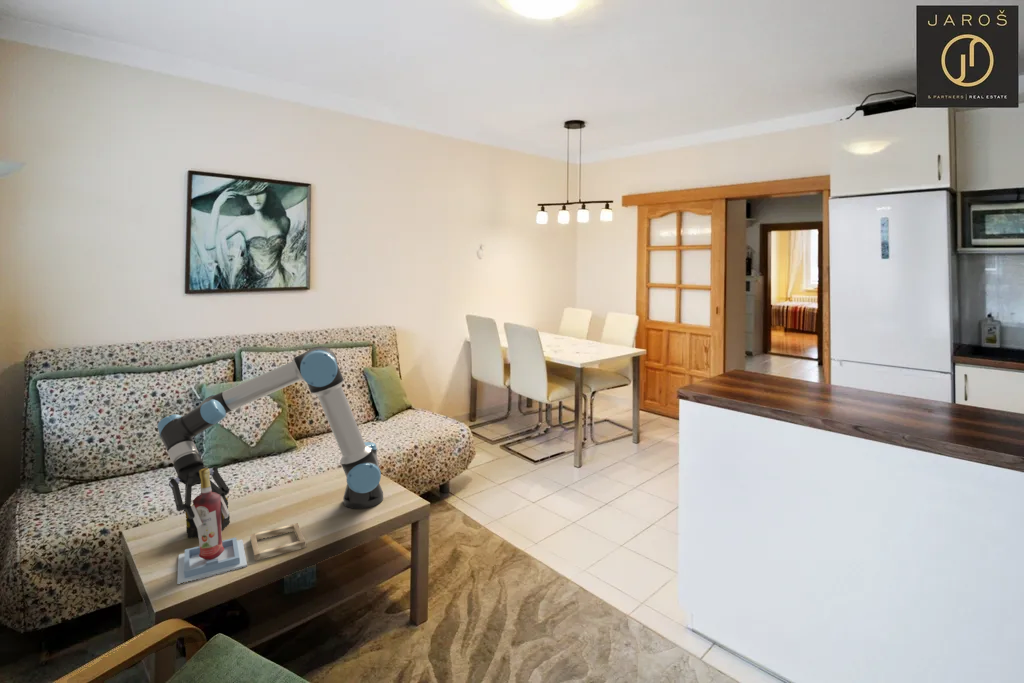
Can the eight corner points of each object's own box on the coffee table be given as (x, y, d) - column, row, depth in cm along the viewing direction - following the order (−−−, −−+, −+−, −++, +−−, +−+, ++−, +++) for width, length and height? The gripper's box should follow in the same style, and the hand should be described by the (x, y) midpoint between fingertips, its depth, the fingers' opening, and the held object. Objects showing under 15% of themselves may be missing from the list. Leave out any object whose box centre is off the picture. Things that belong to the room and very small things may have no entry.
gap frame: (298, 528, 181) (297, 522, 181) (305, 547, 169) (305, 541, 168) (250, 540, 174) (250, 534, 173) (255, 560, 161) (254, 554, 161)
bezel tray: (242, 540, 173) (241, 531, 173) (247, 566, 158) (246, 555, 158) (178, 556, 164) (177, 546, 164) (177, 585, 149) (176, 574, 148)
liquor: (230, 549, 165) (222, 465, 161) (217, 562, 157) (209, 474, 154) (206, 549, 164) (199, 465, 161) (193, 562, 157) (184, 474, 153)
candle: (201, 524, 185) (199, 497, 184) (230, 523, 186) (228, 496, 185) (186, 538, 175) (183, 510, 174) (217, 537, 176) (214, 509, 175)
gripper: (216, 456, 174) (243, 514, 167) (147, 475, 158) (174, 540, 151) (222, 444, 171) (250, 503, 163) (152, 462, 155) (180, 528, 147)
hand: (213, 521), depth 157 cm, fingers closed on liquor, 7 cm apart
